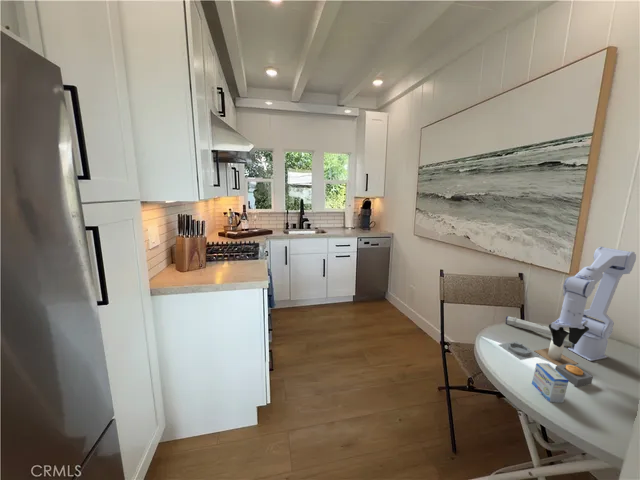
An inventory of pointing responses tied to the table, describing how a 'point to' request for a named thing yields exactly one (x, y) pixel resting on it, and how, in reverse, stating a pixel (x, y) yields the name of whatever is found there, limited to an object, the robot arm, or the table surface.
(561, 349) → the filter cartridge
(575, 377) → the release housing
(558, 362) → the tan board
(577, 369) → the release button
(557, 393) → the medicine box
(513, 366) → the table surface
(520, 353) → the cartridge socket
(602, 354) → the robot arm
